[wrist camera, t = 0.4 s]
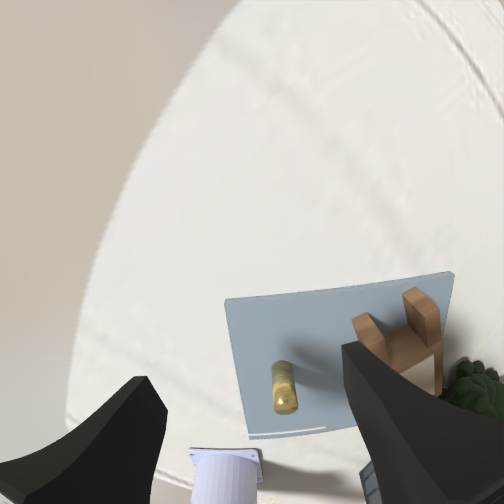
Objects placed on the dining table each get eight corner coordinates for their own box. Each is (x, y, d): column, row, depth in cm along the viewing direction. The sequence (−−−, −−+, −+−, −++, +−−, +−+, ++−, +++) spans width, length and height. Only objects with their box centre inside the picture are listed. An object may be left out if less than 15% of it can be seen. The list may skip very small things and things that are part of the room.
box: (418, 446, 27) (440, 498, 16) (398, 465, 28) (416, 515, 18) (375, 454, 26) (395, 515, 16) (357, 472, 28) (371, 528, 18)
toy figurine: (393, 387, 24) (478, 422, 26) (448, 535, 6) (519, 500, 7) (451, 320, 22) (516, 379, 23) (559, 447, 3) (570, 450, 5)
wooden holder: (425, 370, 20) (442, 394, 17) (375, 396, 21) (387, 424, 18) (415, 286, 18) (440, 308, 14) (351, 319, 19) (367, 348, 15)
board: (413, 404, 23) (416, 409, 22) (245, 433, 24) (244, 440, 23) (449, 271, 18) (455, 275, 17) (218, 299, 19) (216, 305, 18)
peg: (292, 374, 20) (298, 413, 16) (271, 376, 20) (274, 416, 16) (291, 359, 20) (298, 398, 16) (270, 361, 20) (273, 401, 16)
